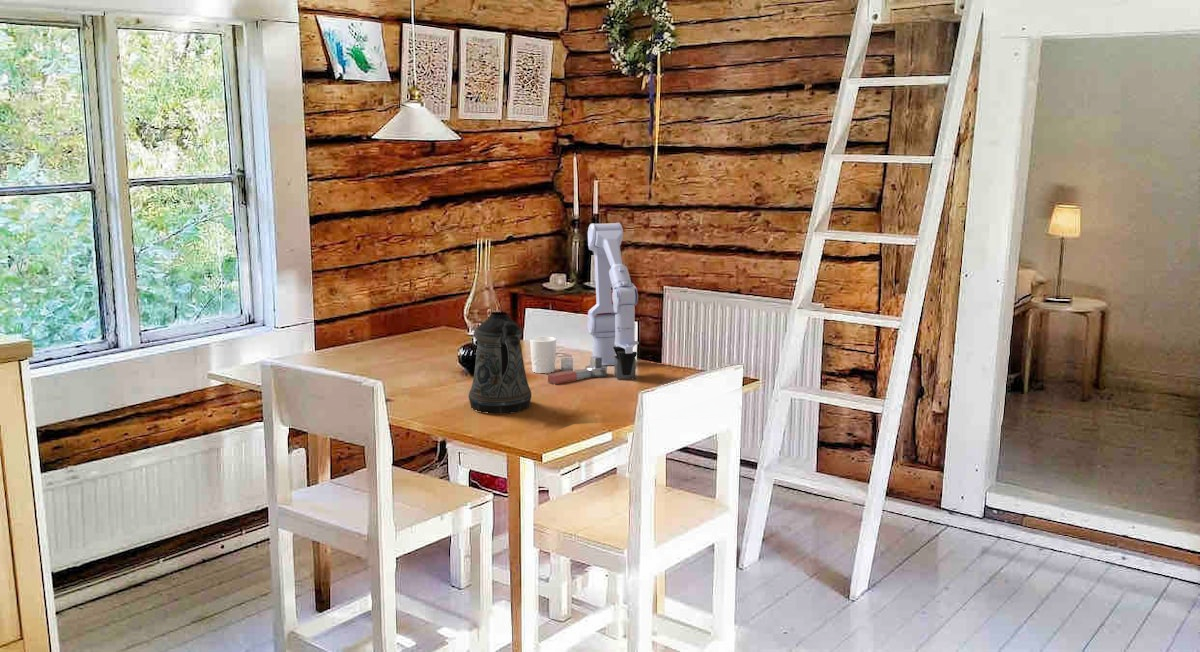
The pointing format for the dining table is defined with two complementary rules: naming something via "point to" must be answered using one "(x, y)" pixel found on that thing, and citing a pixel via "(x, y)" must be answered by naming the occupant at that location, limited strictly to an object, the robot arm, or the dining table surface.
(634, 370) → the brushed steel cube
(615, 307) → the robot arm
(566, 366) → the socket
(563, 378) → the ratchet
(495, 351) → the beer stein
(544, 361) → the white cup
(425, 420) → the dining table surface
